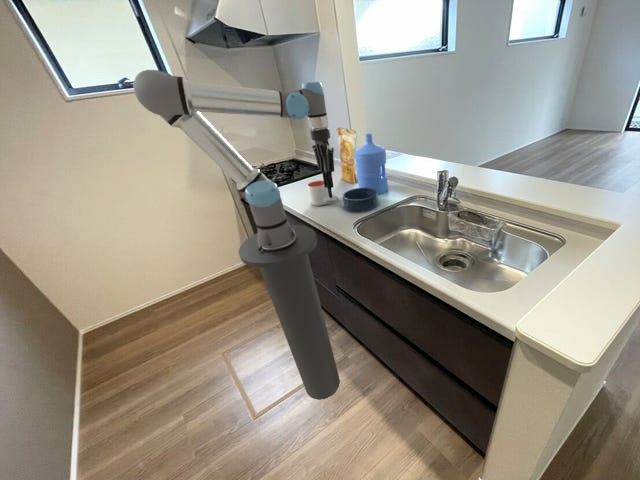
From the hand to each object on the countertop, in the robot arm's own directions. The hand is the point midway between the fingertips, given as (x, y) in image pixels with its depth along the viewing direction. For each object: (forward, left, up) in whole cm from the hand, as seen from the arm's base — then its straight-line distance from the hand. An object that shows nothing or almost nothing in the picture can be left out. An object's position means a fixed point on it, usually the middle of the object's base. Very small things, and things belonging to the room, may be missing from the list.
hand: (329, 187), depth 131 cm
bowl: (+15, -1, -13) cm, 20 cm away
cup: (+4, +19, -14) cm, 24 cm away
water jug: (+32, +10, -14) cm, 36 cm away
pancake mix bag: (+36, +37, -14) cm, 54 cm away
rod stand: (0, 0, -6) cm, 6 cm away
